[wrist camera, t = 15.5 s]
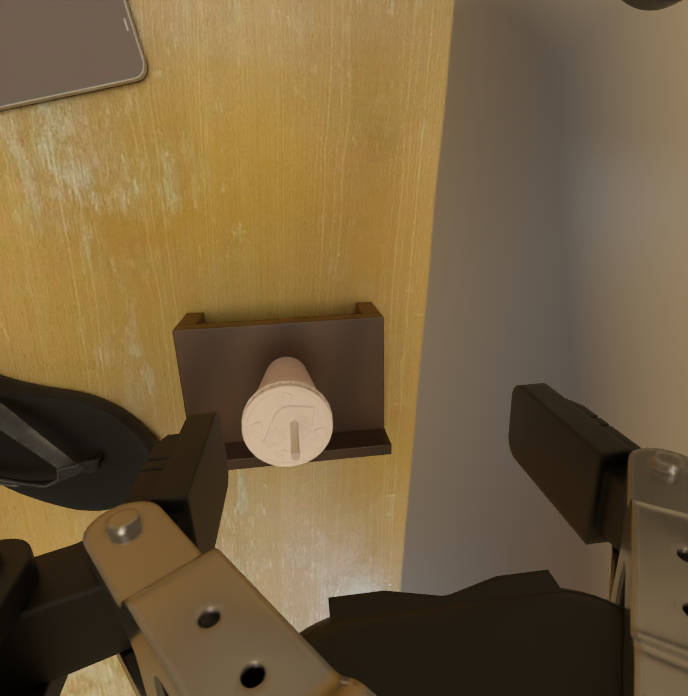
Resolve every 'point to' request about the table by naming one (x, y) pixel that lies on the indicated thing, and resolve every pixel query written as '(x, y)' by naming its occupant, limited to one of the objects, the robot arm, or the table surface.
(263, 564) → the table surface
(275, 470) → the table surface
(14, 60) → the smartphone
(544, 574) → the robot arm
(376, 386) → the shelf
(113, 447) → the sandal
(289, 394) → the smoothie
